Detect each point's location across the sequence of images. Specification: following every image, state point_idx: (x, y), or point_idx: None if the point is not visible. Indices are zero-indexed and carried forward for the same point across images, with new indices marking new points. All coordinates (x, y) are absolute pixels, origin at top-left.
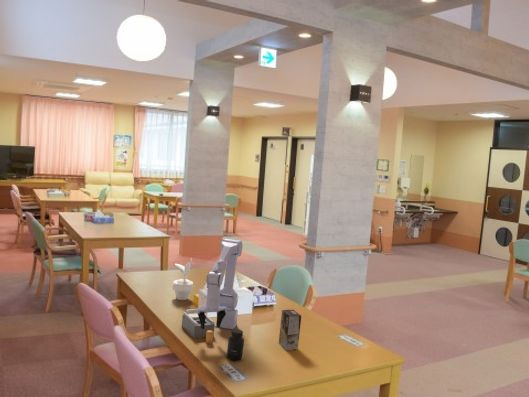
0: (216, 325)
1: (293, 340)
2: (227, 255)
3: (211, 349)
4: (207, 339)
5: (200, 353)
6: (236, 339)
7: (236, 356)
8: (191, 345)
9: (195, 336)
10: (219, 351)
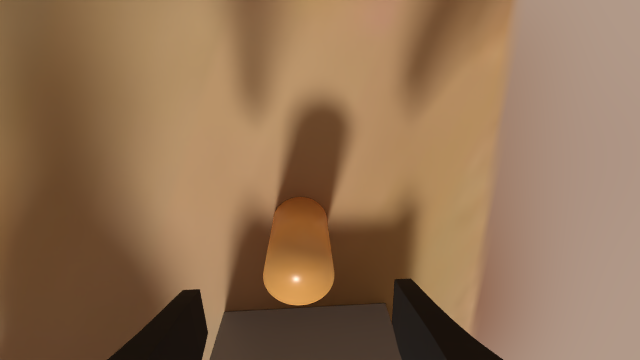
0: (205, 338)
1: None
2: None
3: (336, 73)
4: (323, 220)
5: (471, 10)
6: None
7: None
8: (460, 191)
9: (374, 312)
10: (279, 6)
